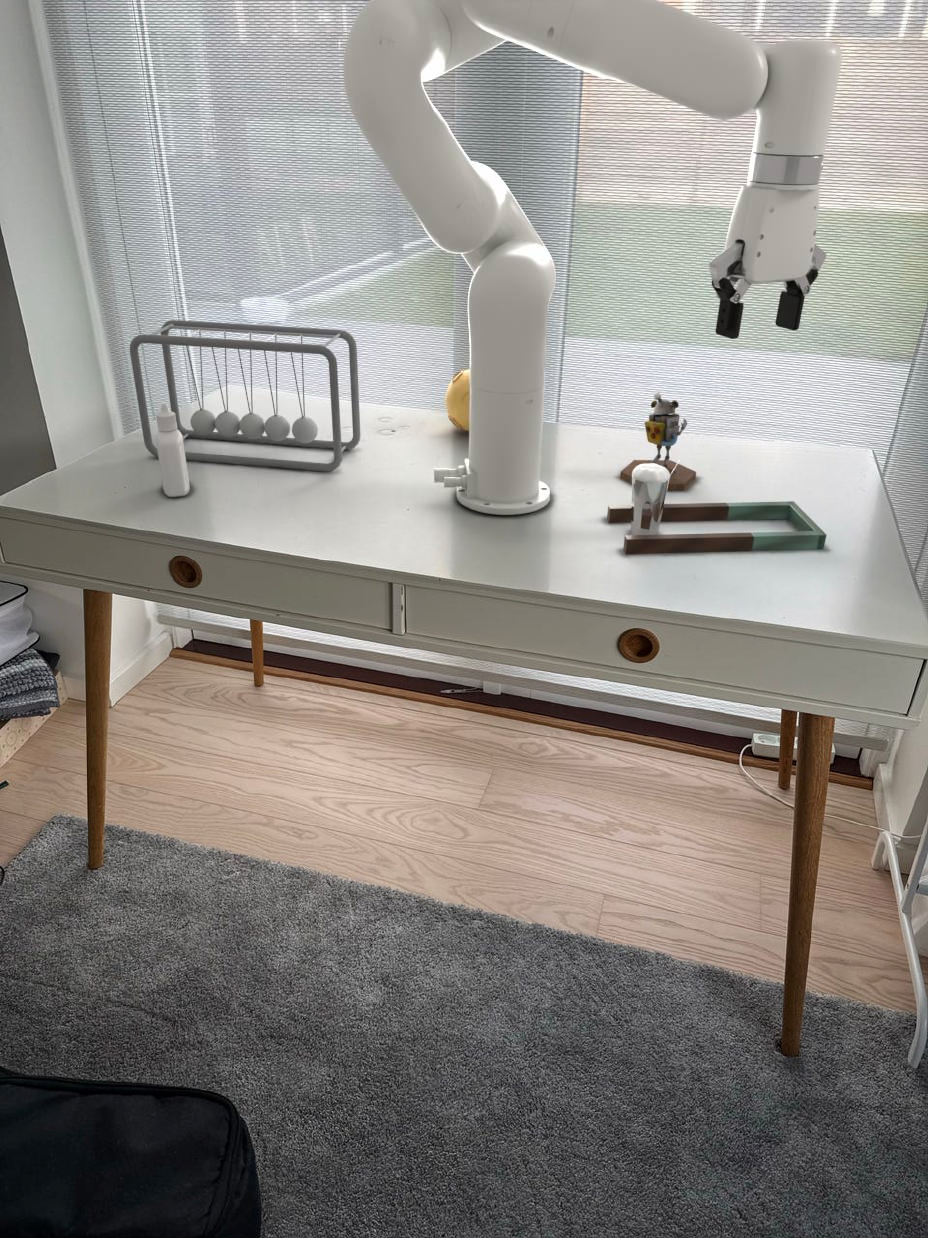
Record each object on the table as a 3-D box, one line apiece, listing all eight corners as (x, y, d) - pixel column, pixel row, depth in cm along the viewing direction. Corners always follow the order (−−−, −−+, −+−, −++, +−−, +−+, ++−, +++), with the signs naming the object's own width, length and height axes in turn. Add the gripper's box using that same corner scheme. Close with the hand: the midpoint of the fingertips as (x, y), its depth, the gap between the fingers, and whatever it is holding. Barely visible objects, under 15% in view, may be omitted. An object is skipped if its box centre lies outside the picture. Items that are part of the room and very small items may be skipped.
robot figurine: (710, 485, 133) (723, 401, 127) (659, 497, 129) (670, 411, 123) (657, 460, 141) (667, 380, 135) (608, 471, 137) (616, 389, 131)
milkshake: (668, 545, 116) (679, 467, 111) (624, 540, 116) (632, 463, 112) (669, 530, 119) (679, 454, 115) (626, 526, 120) (634, 450, 115)
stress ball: (439, 422, 155) (439, 361, 150) (497, 419, 157) (499, 358, 152) (453, 442, 147) (453, 378, 142) (514, 438, 149) (516, 375, 144)
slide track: (625, 554, 113) (627, 539, 112) (606, 519, 122) (608, 504, 121) (823, 549, 115) (827, 534, 114) (790, 515, 124) (793, 501, 123)
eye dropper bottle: (201, 484, 131) (189, 398, 125) (182, 499, 126) (169, 411, 120) (172, 481, 132) (159, 396, 126) (152, 496, 127) (137, 408, 121)
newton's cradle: (362, 449, 144) (357, 329, 135) (341, 473, 135) (334, 347, 126) (176, 434, 148) (160, 318, 140) (145, 457, 139) (125, 334, 131)
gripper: (813, 167, 110) (785, 318, 119) (701, 171, 102) (679, 332, 111) (866, 173, 105) (832, 331, 113) (751, 177, 97) (725, 347, 105)
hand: (757, 331), depth 112 cm, fingers open, 9 cm apart
